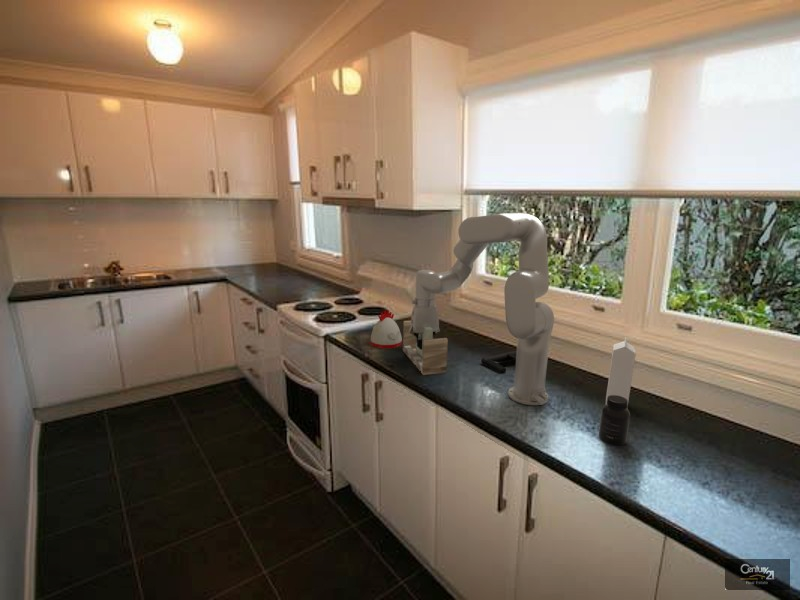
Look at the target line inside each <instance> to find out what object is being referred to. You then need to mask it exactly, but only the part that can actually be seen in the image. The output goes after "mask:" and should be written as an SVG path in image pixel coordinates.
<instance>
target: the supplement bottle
mask: <svg viewBox="0 0 800 600" xmlns="http://www.w3.org/2000/svg"><path fill="white" fill-rule="evenodd" d="M627 403H628V404H629V401H627V399H626V398H624V397H621V396H617V395H610V396H608V398H607V404H606V403H605V404H604V405H603V406H602V408H601V414H600V422H599V429H598V437H599V439H600V440H601V441H602V442H603V443H605V444H608V445H611V446H616V447H621V446H624V445H625V444H626V443H627V442H628V441H627V440H628V433H629V428H630V427H629V426H630V420H631V412H630V410H629V409H628V406H629V405H627Z"/></svg>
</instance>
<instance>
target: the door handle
mask: <svg viewBox="0 0 800 600" xmlns="http://www.w3.org/2000/svg"><path fill="white" fill-rule="evenodd" d="M516 354H517V349H516V350H512V351H507V352H504V353H498V354H495V355H489V356H486V357H483V358H481V361H480V362H481V364H482V365H483V366H487V367H488V368H490V369H491V370H493V371H495V372H497V373H498V374H504V373H506V371H507V367H512V366H516Z"/></svg>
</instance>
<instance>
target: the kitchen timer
mask: <svg viewBox="0 0 800 600" xmlns="http://www.w3.org/2000/svg"><path fill="white" fill-rule="evenodd" d="M377 316H378V319H379V320H378V321H377V322H376V324H375V325H374V326H373V328H372V332H371V335H370V345H371V344H372V345H373V346H372V345H371V346H372V347H374V346H376V347H375V348H377V347H379V348H378V349H387V348H388V349H395V347H396V348H398V346H399V347H400V346H401V345H403V339H402V338H403V336H402V333H401V331H400V330H401V329H400V328H399V325H398V324H397V322H396V321H395V320H394V316H395V314H394V313H392V311H390V310H388V309H387V310H384V311H380V315H379V314H378V315H377Z"/></svg>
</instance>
